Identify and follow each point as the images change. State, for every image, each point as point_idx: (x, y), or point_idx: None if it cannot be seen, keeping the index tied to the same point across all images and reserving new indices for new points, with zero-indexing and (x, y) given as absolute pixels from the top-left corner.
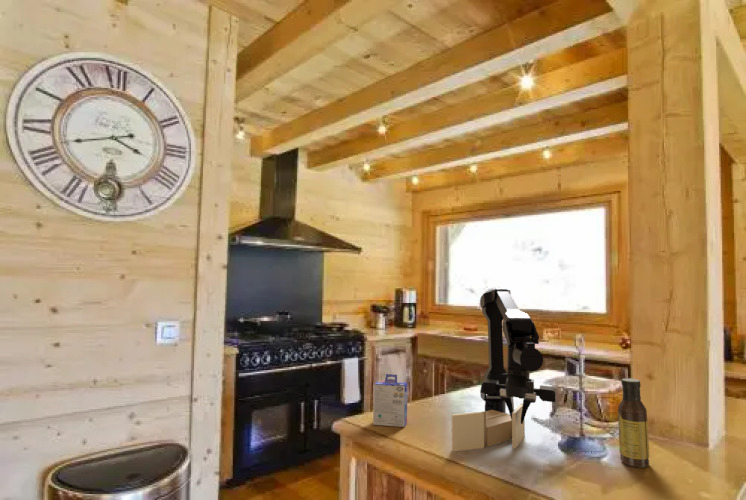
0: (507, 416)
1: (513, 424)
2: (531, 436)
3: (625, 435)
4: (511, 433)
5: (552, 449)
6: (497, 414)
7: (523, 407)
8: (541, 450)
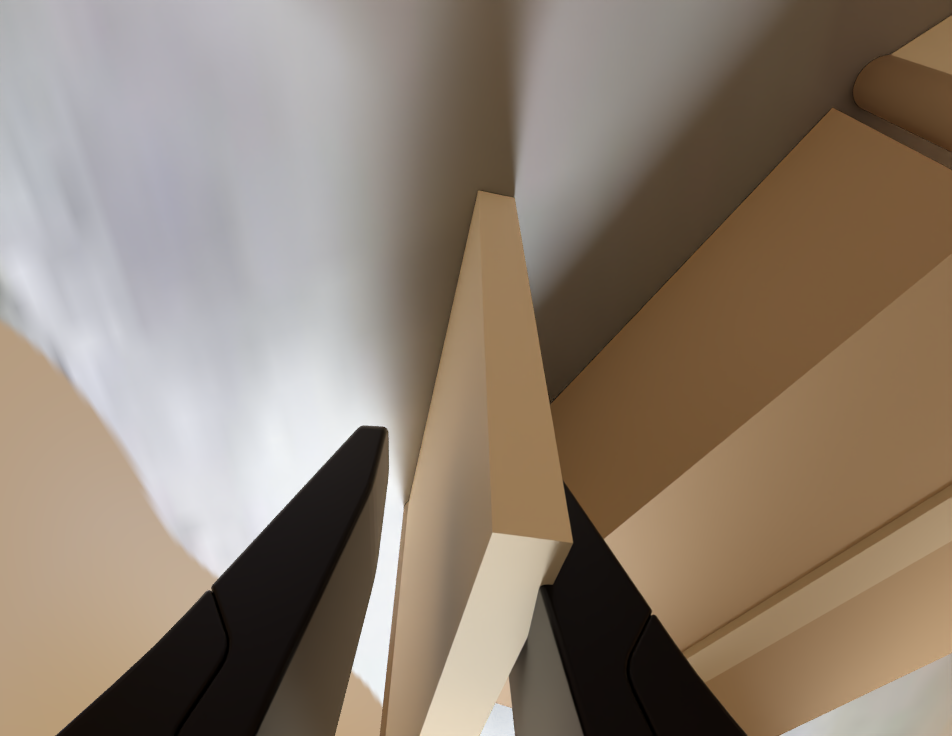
0: None
1: (516, 358)
2: None
3: None
4: None
5: (91, 298)
6: None
7: (224, 724)
8: (187, 227)
